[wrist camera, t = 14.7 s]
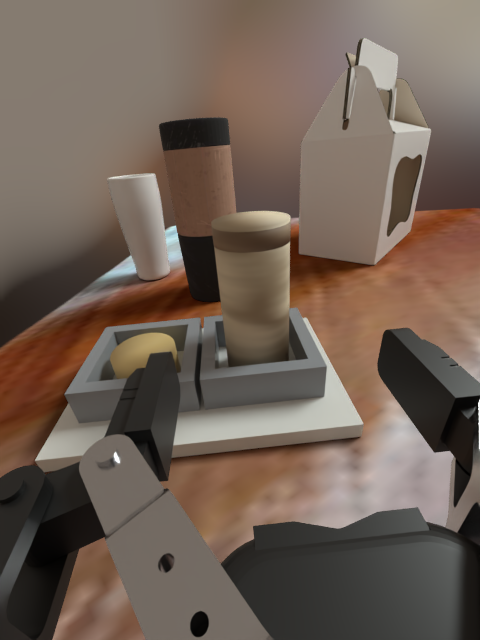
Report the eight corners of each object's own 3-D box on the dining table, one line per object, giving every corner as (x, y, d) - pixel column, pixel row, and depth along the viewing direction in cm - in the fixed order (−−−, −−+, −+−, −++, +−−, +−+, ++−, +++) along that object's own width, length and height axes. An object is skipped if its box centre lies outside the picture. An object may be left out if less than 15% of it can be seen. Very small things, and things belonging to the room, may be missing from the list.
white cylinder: (156, 266, 53) (134, 174, 46) (183, 271, 50) (165, 172, 42) (125, 279, 49) (95, 179, 41) (153, 286, 45) (127, 178, 38)
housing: (306, 327, 32) (307, 293, 30) (361, 436, 20) (369, 391, 18) (109, 347, 31) (97, 314, 29) (42, 472, 19) (14, 430, 17)
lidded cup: (268, 342, 28) (264, 208, 22) (301, 372, 24) (307, 218, 18) (219, 360, 26) (199, 219, 20) (246, 396, 22) (231, 233, 16)
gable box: (346, 226, 67) (362, 67, 53) (410, 231, 60) (448, 48, 46) (297, 255, 53) (301, 47, 39) (373, 266, 45) (413, 13, 31)
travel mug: (181, 302, 39) (145, 123, 29) (198, 280, 46) (173, 127, 36) (237, 303, 38) (219, 115, 28) (246, 280, 44) (235, 120, 34)
